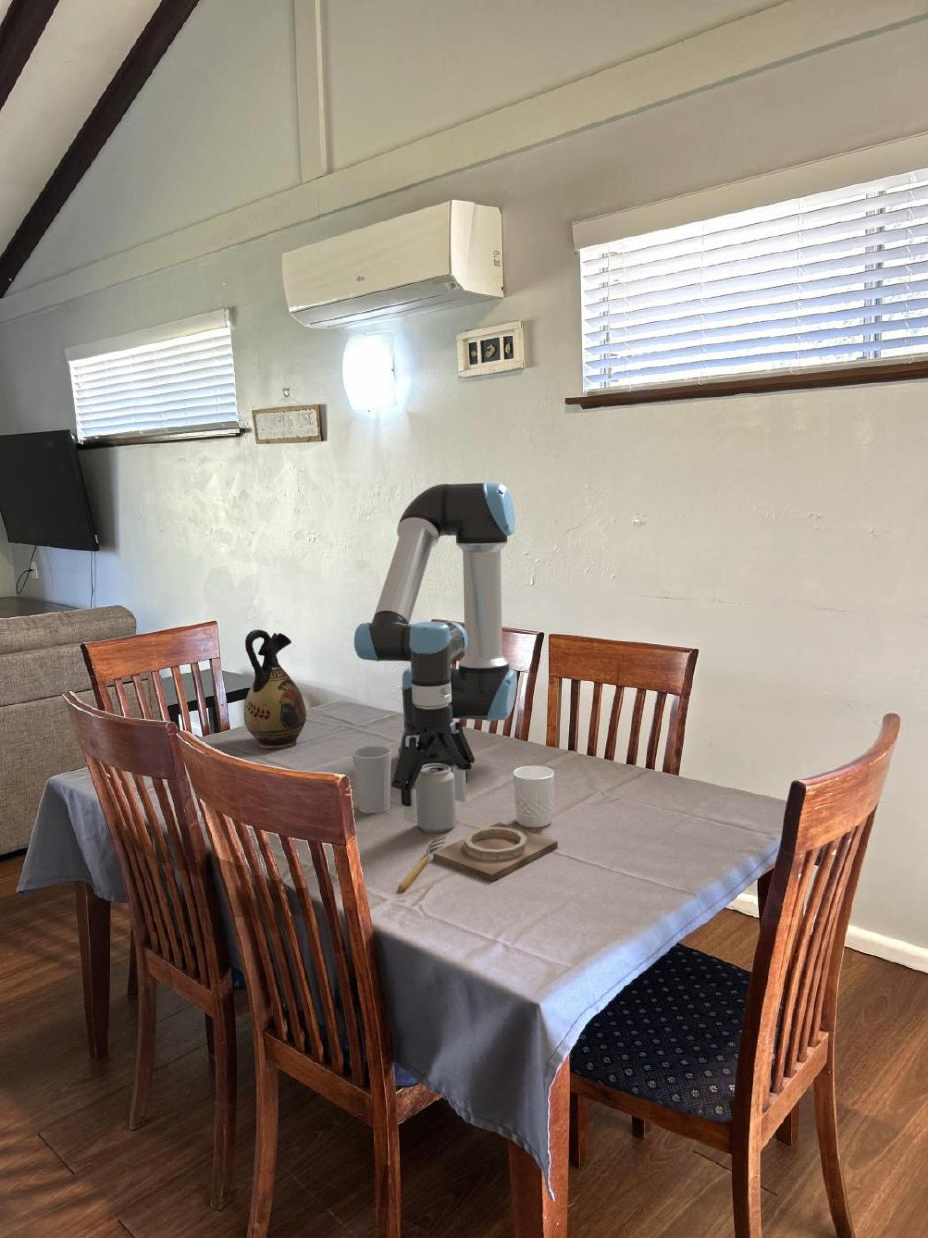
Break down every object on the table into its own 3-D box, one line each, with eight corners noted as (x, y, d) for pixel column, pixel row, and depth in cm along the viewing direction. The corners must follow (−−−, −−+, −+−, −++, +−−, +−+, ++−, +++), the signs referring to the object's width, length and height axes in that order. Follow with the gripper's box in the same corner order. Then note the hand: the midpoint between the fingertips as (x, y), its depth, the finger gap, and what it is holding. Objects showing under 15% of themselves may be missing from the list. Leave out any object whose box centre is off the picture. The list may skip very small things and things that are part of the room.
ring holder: (499, 828, 177) (499, 814, 177) (557, 847, 168) (557, 833, 167) (433, 859, 164) (432, 844, 164) (492, 881, 155) (491, 866, 155)
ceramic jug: (287, 731, 246) (279, 621, 241) (319, 743, 235) (312, 627, 230) (229, 746, 235) (220, 630, 230) (260, 759, 224) (252, 637, 219)
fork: (407, 886, 152) (446, 835, 170) (397, 882, 152) (437, 832, 171) (404, 899, 152) (444, 847, 171) (394, 895, 153) (434, 844, 171)
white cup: (558, 815, 183) (558, 767, 181) (549, 831, 175) (548, 780, 174) (520, 812, 185) (519, 764, 184) (509, 826, 178) (508, 777, 176)
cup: (387, 816, 185) (385, 758, 183) (349, 814, 187) (346, 757, 185) (398, 801, 193) (396, 746, 191) (361, 800, 195) (359, 745, 193)
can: (462, 822, 181) (460, 763, 179) (445, 836, 174) (443, 775, 172) (428, 817, 184) (426, 759, 182) (410, 831, 177) (408, 771, 175)
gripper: (397, 722, 164) (402, 835, 167) (490, 693, 181) (493, 796, 185) (369, 715, 169) (374, 825, 172) (462, 688, 186) (465, 788, 190)
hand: (436, 810), depth 179 cm, fingers open, 13 cm apart
